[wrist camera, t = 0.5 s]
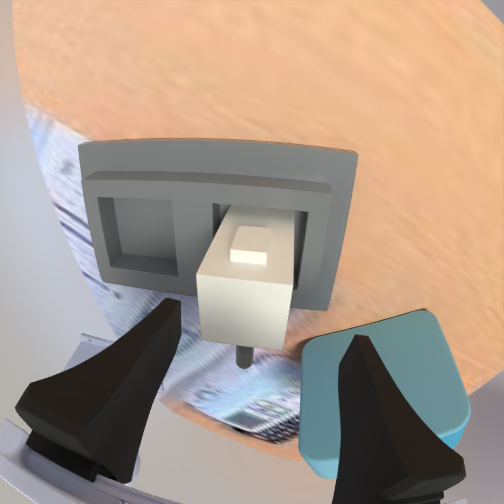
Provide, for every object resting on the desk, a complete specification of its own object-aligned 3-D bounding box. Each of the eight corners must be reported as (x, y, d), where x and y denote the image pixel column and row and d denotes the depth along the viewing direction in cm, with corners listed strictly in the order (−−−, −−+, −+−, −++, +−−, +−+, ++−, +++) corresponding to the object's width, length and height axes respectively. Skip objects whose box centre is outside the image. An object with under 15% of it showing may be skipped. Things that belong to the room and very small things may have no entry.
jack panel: (108, 275, 25) (92, 295, 23) (85, 142, 19) (61, 152, 17) (326, 302, 24) (328, 328, 21) (355, 151, 18) (365, 162, 15)
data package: (313, 368, 28) (311, 481, 18) (301, 338, 26) (296, 465, 16) (430, 338, 25) (464, 446, 14) (431, 304, 23) (476, 422, 12)
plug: (230, 295, 23) (205, 380, 16) (231, 194, 19) (195, 262, 12) (282, 301, 23) (275, 389, 16) (295, 200, 19) (295, 272, 12)
